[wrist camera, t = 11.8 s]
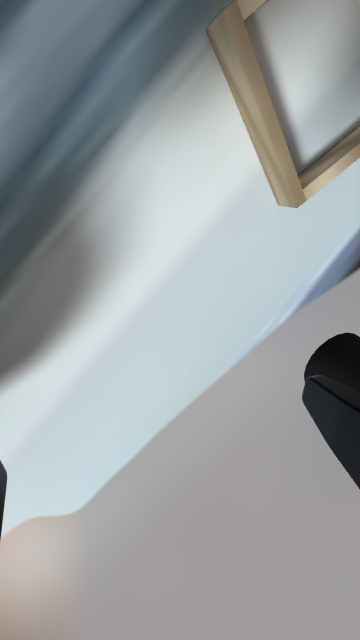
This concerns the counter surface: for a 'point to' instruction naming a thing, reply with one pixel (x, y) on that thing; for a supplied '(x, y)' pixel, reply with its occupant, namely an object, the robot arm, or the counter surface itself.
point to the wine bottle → (337, 360)
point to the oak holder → (270, 112)
